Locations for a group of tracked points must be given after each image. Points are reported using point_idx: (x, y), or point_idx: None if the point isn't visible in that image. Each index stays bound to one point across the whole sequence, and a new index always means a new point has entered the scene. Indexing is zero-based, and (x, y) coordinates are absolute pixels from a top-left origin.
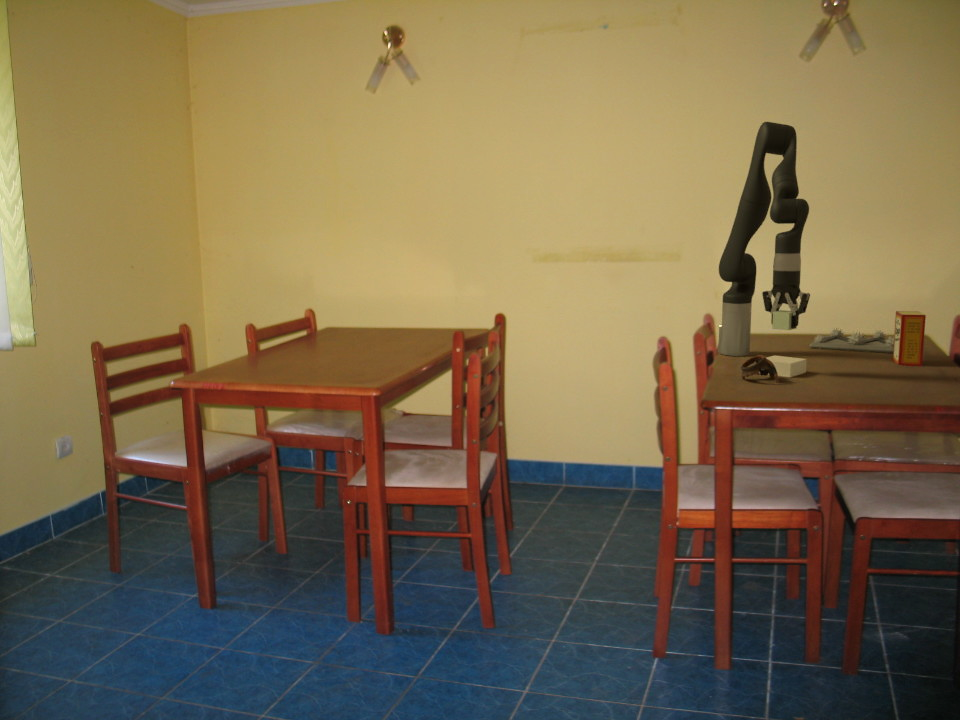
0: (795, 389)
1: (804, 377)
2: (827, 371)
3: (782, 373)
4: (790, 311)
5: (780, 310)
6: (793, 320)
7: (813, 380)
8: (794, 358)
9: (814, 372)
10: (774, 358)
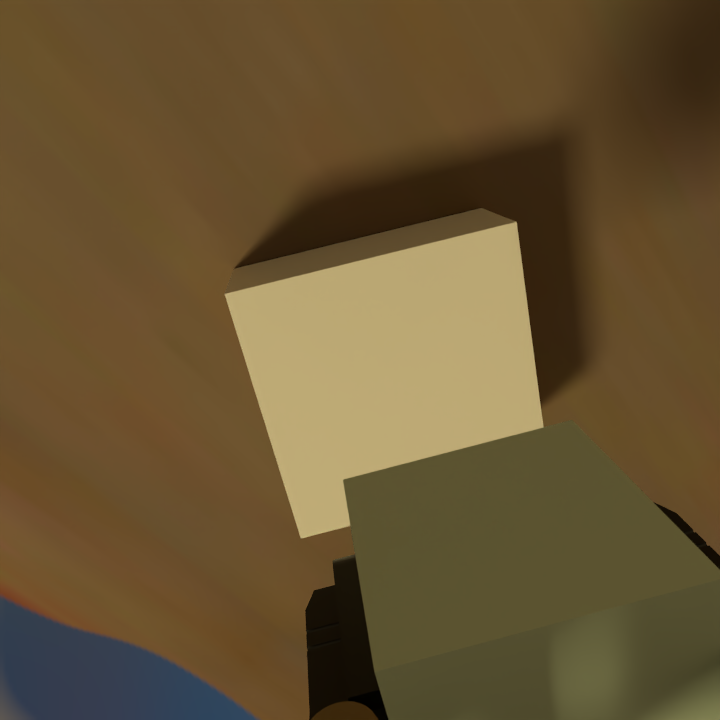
0: None
1: (572, 357)
2: (559, 20)
3: None
4: (630, 671)
5: (393, 702)
6: None
7: (659, 387)
8: (432, 278)
9: (517, 147)
10: (333, 409)
